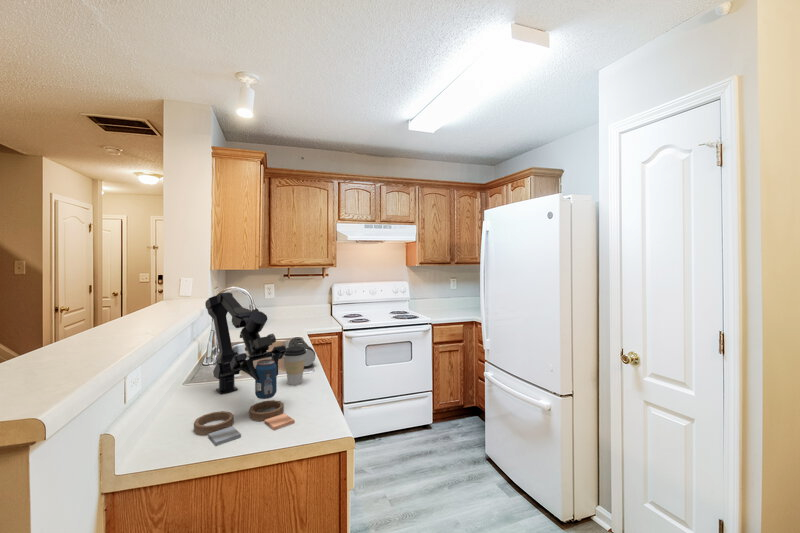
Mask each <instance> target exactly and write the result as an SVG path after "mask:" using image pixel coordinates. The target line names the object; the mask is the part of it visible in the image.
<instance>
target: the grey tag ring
mask: <svg viewBox="0 0 800 533" xmlns="http://www.w3.org/2000/svg"><path fill="white" fill-rule="evenodd" d="M234 416H235V415H234V414H233V412H231V411H220V410H219V411H213V412H212V411H211V412H209V413H206V414H204V415H203V414H202V415H201V416H200V417H198V418H196V419H195V421H194V422H193V432H194V433H195V434H196V435H200V436H208V437H207V438H208V439H209V440H210V441H211V442H212V443H213V444H214V445H215V446H216V447H217V446H220V445H223V444H225V443H228V442H231V441H234V440H236V439H241V438H242V433H241V432H240V431H238V430H237V429H236V428H235V427H234V426H233V425H234V423H235V419H234V418H235V417H234ZM216 421H221V422H220V423H216V424H208V423H211V422H216ZM205 424H208V425H205Z"/></svg>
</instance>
